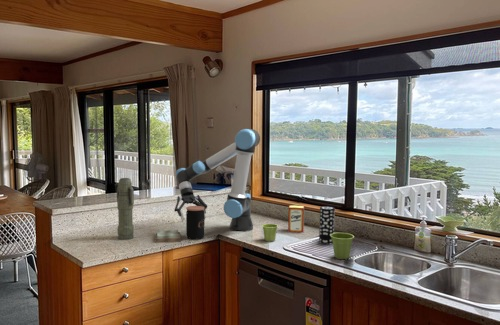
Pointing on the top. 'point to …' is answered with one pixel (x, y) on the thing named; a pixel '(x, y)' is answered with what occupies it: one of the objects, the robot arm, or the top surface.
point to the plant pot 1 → (269, 231)
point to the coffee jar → (195, 222)
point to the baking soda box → (296, 218)
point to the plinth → (167, 236)
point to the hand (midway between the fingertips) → (194, 219)
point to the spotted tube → (326, 224)
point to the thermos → (125, 208)
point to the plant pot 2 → (342, 244)
